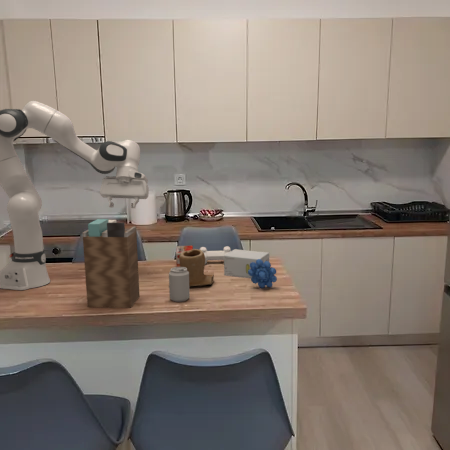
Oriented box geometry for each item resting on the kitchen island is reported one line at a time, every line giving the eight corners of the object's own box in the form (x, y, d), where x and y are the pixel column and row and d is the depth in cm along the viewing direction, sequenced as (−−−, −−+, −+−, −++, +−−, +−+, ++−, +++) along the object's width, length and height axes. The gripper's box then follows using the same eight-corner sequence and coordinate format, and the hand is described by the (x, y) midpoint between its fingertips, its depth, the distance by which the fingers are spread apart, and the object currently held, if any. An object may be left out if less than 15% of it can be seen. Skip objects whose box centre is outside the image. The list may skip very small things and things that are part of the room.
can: (186, 303, 173) (185, 271, 171) (167, 302, 175) (165, 270, 172) (191, 296, 180) (191, 266, 178) (173, 295, 182) (172, 265, 180)
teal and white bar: (88, 236, 166) (87, 224, 165) (107, 225, 185) (106, 214, 185) (99, 236, 166) (99, 224, 165) (117, 226, 185) (116, 214, 184)
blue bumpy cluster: (247, 291, 186) (247, 261, 183) (248, 285, 192) (248, 257, 190) (277, 291, 185) (277, 262, 182) (276, 286, 191) (277, 257, 189)
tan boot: (178, 290, 187) (177, 254, 184) (177, 281, 199) (176, 247, 196) (216, 289, 189) (215, 252, 186) (213, 280, 200) (213, 246, 198)
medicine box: (176, 261, 232) (176, 245, 231) (193, 260, 233) (192, 245, 231) (176, 269, 217) (175, 253, 216) (194, 269, 218) (193, 252, 217)
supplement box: (223, 275, 207) (223, 255, 205) (235, 268, 219) (234, 248, 217) (259, 280, 200) (259, 258, 199) (269, 271, 212) (269, 251, 210)
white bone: (230, 261, 232) (230, 245, 231) (231, 264, 223) (231, 247, 223) (199, 262, 231) (199, 246, 230) (199, 265, 223) (199, 248, 222)
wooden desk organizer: (87, 306, 170) (81, 222, 165) (99, 295, 182) (94, 217, 176) (130, 307, 169) (126, 223, 163) (139, 296, 181) (135, 217, 175)
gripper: (100, 173, 197) (95, 203, 193) (148, 174, 195) (143, 205, 191) (105, 179, 203) (100, 209, 199) (151, 180, 201) (147, 211, 197)
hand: (121, 207), depth 195 cm, fingers open, 8 cm apart
